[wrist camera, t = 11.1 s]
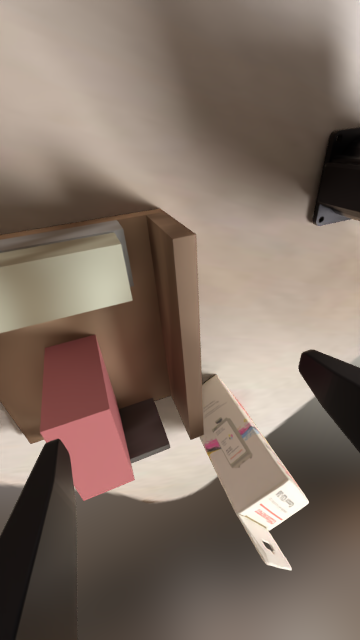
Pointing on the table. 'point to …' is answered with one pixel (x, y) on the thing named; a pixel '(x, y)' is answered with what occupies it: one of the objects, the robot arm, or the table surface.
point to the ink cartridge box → (248, 470)
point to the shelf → (105, 317)
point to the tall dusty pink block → (84, 416)
